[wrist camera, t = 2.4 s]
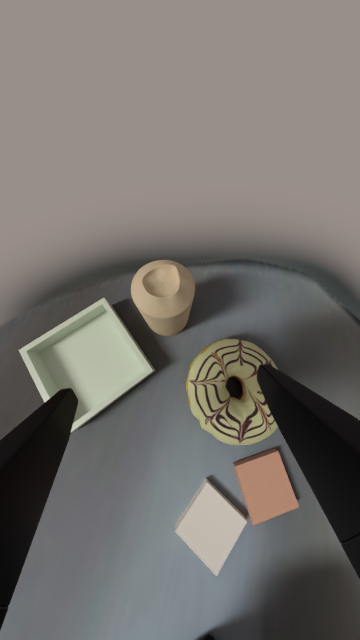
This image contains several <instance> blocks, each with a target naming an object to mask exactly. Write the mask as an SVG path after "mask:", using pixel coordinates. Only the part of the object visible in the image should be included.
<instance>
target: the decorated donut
mask: <svg viewBox="0 0 360 640" xmlns="http://www.w3.org/2000/svg"><path fill="white" fill-rule="evenodd" d="M262 364H269V365H271V366H273V367H274V368H276V369H277V370H278V368H277V367H276V365H275V364H274V362H273V361H272V360H271V358H270V357H268V355H267V354H266V353H265V352H264V351H263V350H262V349H260V348H259V347H257V346H256V345H255V344H253V343H251V342H248V341H243V340H238V339H224V340H219V341H217V342H214V343H213V344H211V345H209V346H208V347H207V348H205V349H203V350H202V351H201V352H200V353H199V354H198V355H197V356H196V357H195V359H194V360H193V362H192V363H191V366H190V370H189V374H188V376H187V381H186V390H187V393H188V397H189V405H190V408H191V411H192V413H193V415H194V416H195V417H196V418H197V419H198V421H199V422H200V424H201V427H202V428H203V429H204V430H206V431H208V432H210V433H211V434H212V435H213V436H214V437H216V438H217V439H218V440H219V441H221V442H223V443H226V444H230V445H250V444H253V443H257V442H259V441H261V440H263V439H265V438H267V437H268V436H270V435H271V434H272V433H273V432H274V431H275V430H276V429H277V427H278V426H277V424H276V422H275V420H274V418H273V416H272V414H271V412H270V410H269V408H268V406H267V403H266V401H265V398H264V396H263V394H262V391H261V389H260V386H259V384H258V382H257V372H258V368H259V365H262ZM230 377H233V378H234V377H235V378H237V379H238V380H239V381H240V382H241V384H242V385H241V386H242V393H241V394H240V396H239V397H238V398H235V397H230V394H229V392H228V391H227V389H226V382H227V380H228V379H229V378H230Z"/></svg>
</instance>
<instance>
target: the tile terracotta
mask: <svg viewBox="0 0 360 640" xmlns="http://www.w3.org/2000/svg"><path fill="white" fill-rule="evenodd" d="M233 465H234V468H235V472H236V475H237V478H238V481H239V485H240V488H241V491H242V494H243V498H244V501H245V504H246V507H247V511H248V514H249V517H250V520H251V522H252V524H253V525H256V524H258V523H261V522H263V521H266V520H268V519H271V518H273V517H276V516H278V515H281V514H283V513H286V512H288V511H291V510H293V509H296V508H298V507H299V505H298V503H297V500H296V497H295V495H294V492H293V489H292V487H291V484H290V481H289V479H288V476H287V473H286V471H285V468H284V465H283V462H282V460H281V457H280V454H279V452H278V450H276V449H275V448H273V449H271V450H268V451H265V452H262V453H259V454H257V455H254V456H251V457H248V458H246V459H243V460H240V461H237V462H234V463H233Z"/></svg>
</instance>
